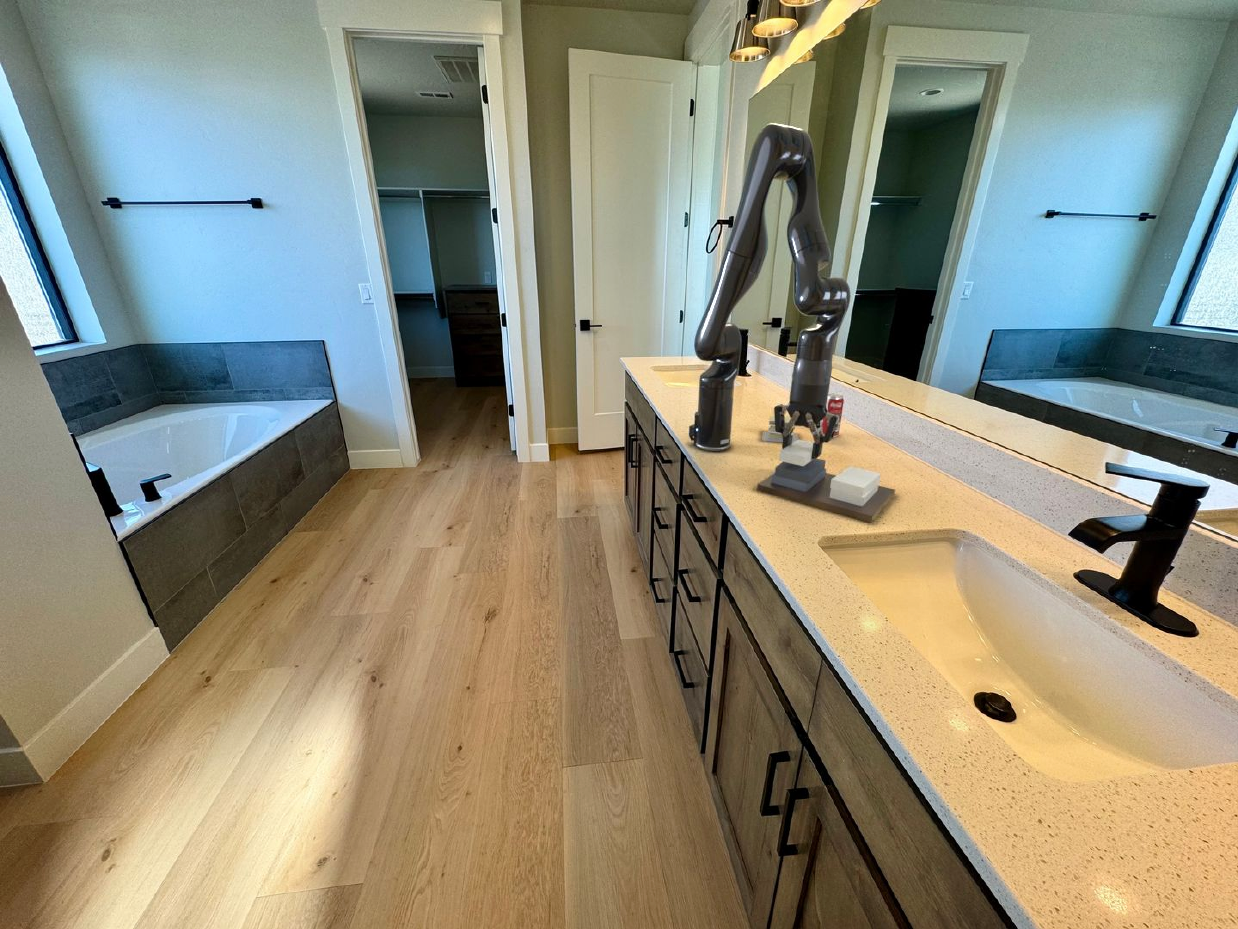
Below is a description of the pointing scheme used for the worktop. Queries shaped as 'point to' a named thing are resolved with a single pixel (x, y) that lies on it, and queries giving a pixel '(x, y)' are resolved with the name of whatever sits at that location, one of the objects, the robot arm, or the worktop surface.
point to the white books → (854, 485)
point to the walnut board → (821, 498)
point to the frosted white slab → (797, 453)
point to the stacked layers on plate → (774, 435)
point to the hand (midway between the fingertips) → (800, 454)
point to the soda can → (833, 410)
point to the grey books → (799, 474)
